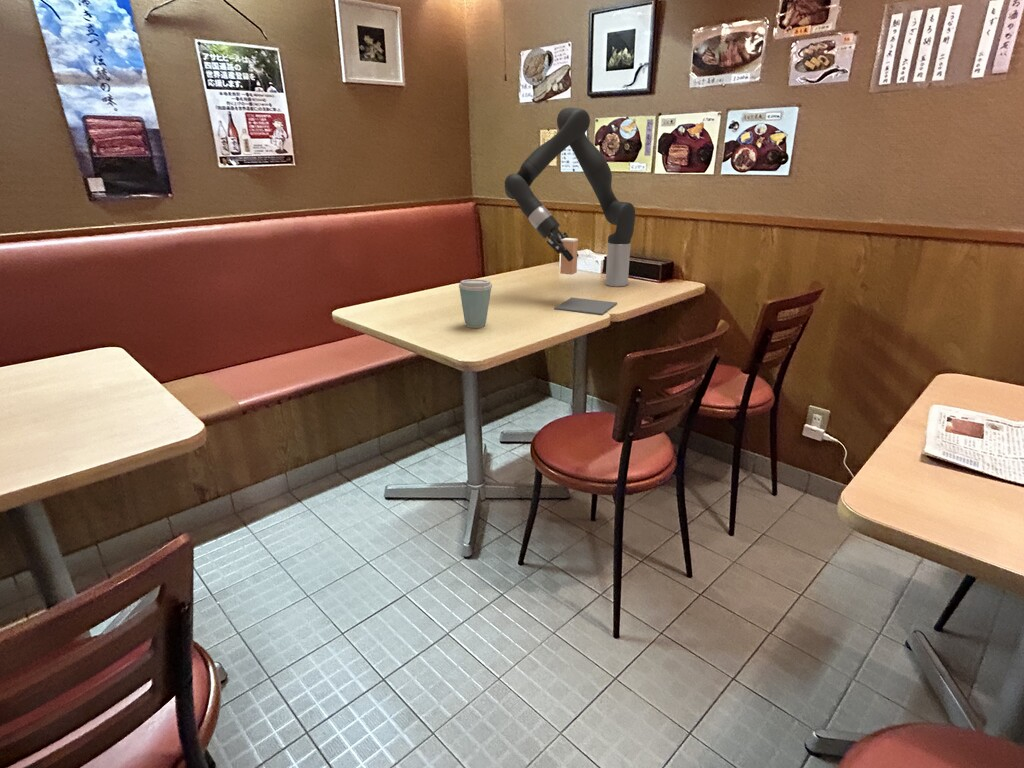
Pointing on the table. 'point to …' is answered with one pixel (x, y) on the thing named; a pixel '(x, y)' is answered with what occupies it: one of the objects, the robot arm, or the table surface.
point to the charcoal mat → (586, 306)
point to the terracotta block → (572, 247)
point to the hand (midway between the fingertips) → (574, 258)
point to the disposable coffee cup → (475, 301)
